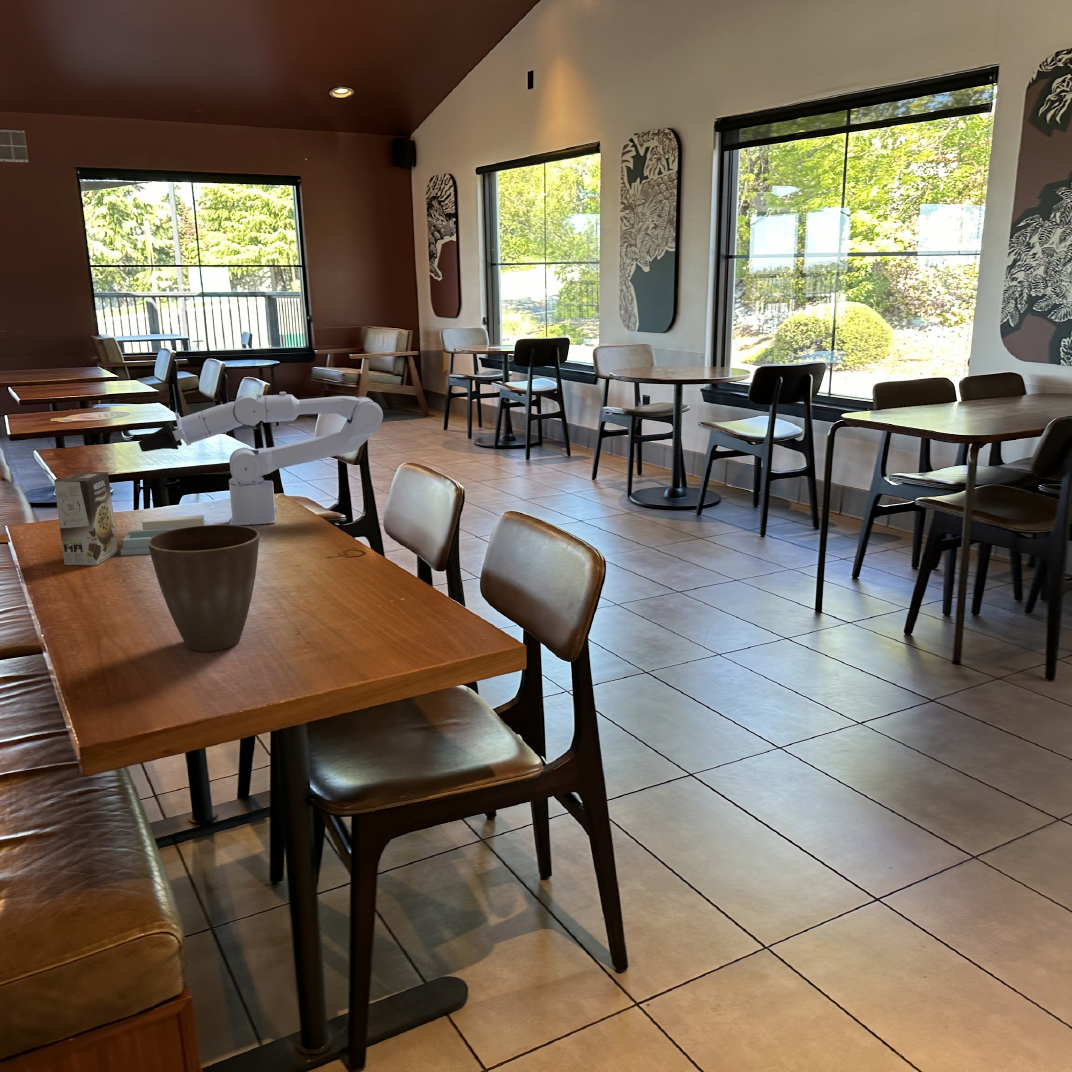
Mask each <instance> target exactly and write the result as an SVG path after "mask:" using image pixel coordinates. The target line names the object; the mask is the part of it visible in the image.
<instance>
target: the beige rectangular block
mask: <svg viewBox="0 0 1072 1072" xmlns="http://www.w3.org/2000/svg"><path fill="white" fill-rule="evenodd" d="M141 524H142V530H153V529H170V528H185V527H192V526H201V525H206V524H205V515H204V514H201V515H187V516H185V515H184V516H170V517H169V516H168V517H156V518H155V517H153V518H151V517H150V518H143V520H142V521H141Z"/></svg>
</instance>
